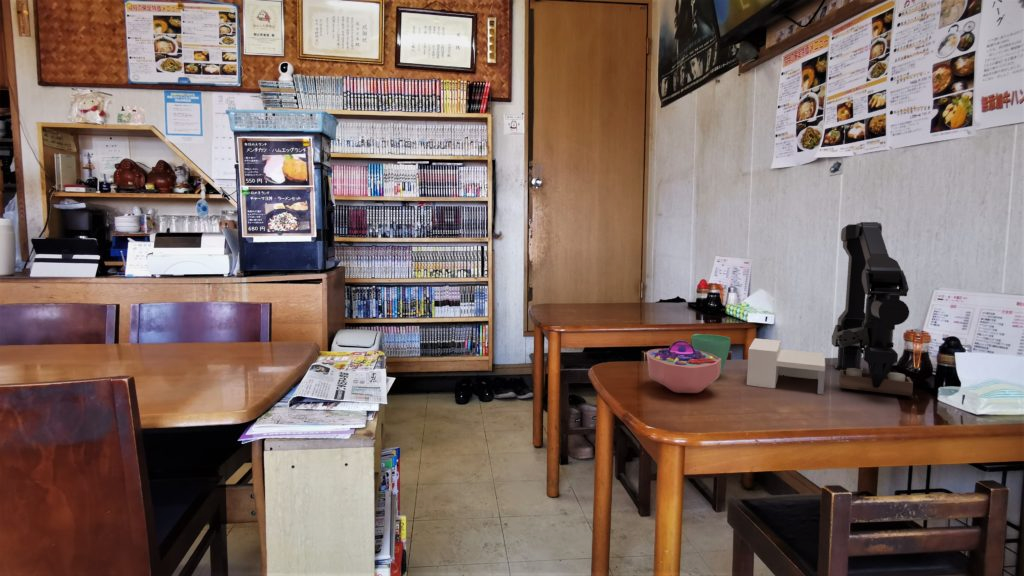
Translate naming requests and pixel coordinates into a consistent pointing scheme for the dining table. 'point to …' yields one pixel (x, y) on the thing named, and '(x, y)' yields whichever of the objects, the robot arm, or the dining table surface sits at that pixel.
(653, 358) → the cell model
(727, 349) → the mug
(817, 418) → the dining table surface
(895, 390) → the tray
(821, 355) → the counter
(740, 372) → the dining table surface
